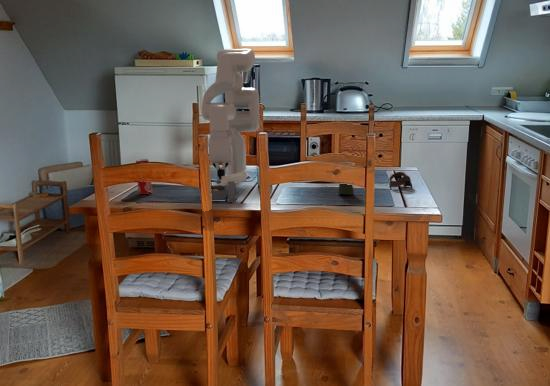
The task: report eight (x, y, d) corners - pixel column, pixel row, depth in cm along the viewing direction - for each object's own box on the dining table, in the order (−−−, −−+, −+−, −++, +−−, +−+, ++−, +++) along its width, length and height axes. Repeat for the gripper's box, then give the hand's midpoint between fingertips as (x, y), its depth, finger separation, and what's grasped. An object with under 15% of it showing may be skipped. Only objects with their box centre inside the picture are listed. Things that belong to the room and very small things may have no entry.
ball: (211, 188, 240) (219, 187, 240) (212, 196, 241) (220, 195, 241) (210, 190, 237) (219, 189, 237) (211, 198, 238) (220, 197, 238)
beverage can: (144, 196, 247) (142, 161, 244) (134, 194, 251) (132, 160, 248) (155, 193, 252) (153, 159, 249) (145, 191, 256) (143, 158, 252)
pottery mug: (417, 191, 248) (410, 176, 244) (396, 201, 249) (390, 186, 245) (407, 178, 258) (401, 163, 254) (388, 188, 259) (381, 173, 255)
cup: (210, 196, 244) (209, 178, 242) (226, 196, 244) (225, 177, 242) (208, 202, 235) (207, 182, 233) (225, 201, 235) (224, 182, 233)
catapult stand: (229, 194, 246) (228, 175, 244) (237, 194, 246) (236, 174, 245) (227, 203, 233) (226, 182, 231) (236, 202, 233) (235, 182, 231)
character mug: (354, 197, 237) (354, 166, 234) (336, 197, 238) (336, 166, 235) (354, 191, 247) (354, 161, 244) (337, 191, 248) (337, 161, 245)
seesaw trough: (218, 180, 247) (216, 173, 247) (248, 173, 247) (246, 166, 246) (215, 187, 235) (213, 179, 234) (248, 180, 234) (246, 172, 234)
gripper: (238, 133, 244) (239, 176, 248) (202, 134, 244) (204, 177, 248) (237, 135, 237) (238, 179, 241) (200, 136, 237) (202, 180, 241)
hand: (221, 178), depth 245 cm, fingers closed
